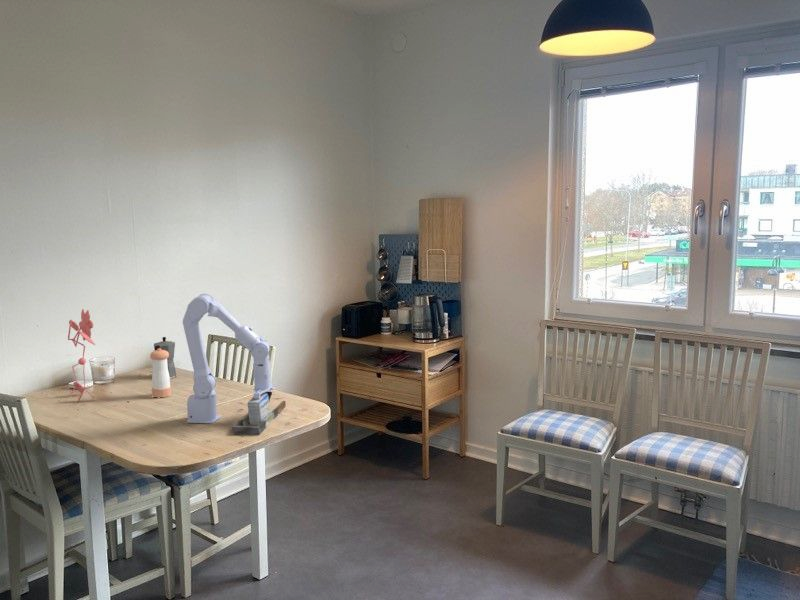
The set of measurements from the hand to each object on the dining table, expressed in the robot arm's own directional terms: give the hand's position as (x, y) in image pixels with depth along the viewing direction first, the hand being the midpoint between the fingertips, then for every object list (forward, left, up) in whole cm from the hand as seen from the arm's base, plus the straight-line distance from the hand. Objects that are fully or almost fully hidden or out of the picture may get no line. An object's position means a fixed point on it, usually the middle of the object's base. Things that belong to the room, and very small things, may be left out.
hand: (264, 412), depth 229 cm
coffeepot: (-62, +50, -2) cm, 79 cm away
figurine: (-77, +19, -2) cm, 79 cm away
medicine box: (0, -5, -2) cm, 5 cm away
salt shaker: (-50, +23, -2) cm, 55 cm away
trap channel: (-1, -2, -2) cm, 3 cm away
